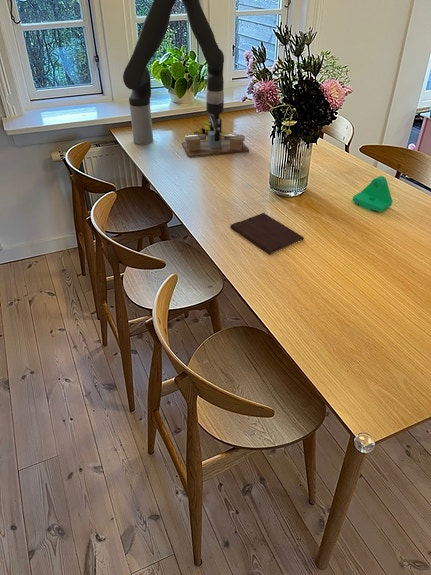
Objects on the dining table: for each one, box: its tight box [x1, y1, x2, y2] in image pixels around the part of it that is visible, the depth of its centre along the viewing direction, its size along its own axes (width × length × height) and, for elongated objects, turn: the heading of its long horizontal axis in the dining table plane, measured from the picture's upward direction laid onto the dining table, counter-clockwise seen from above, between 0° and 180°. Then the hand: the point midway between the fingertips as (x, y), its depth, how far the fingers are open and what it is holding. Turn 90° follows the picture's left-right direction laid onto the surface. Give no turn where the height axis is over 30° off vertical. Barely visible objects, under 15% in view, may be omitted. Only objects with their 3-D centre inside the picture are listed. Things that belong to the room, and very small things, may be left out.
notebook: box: [230, 212, 305, 256], centre depth 148 cm, size 15×20×2 cm
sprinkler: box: [193, 119, 224, 139], centre depth 219 cm, size 19×4×15 cm
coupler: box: [207, 131, 222, 148], centre depth 203 cm, size 5×5×6 cm
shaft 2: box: [223, 133, 246, 142], centre depth 201 cm, size 2×9×2 cm, turn 79°
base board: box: [181, 133, 250, 158], centre depth 204 cm, size 16×28×6 cm, turn 104°
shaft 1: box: [184, 133, 207, 142], centre depth 201 cm, size 2×9×2 cm, turn 104°
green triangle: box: [352, 175, 393, 213], centre depth 161 cm, size 12×8×10 cm, turn 43°
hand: (214, 137), depth 203 cm, fingers open, 8 cm apart
